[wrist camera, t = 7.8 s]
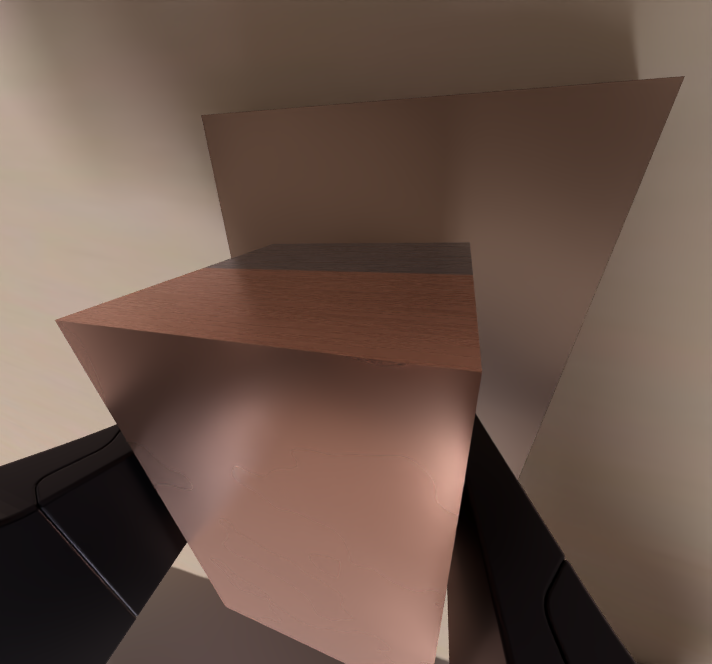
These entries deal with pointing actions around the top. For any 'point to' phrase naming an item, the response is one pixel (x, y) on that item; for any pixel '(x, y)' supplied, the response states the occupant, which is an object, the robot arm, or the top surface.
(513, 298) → the walnut stand
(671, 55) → the top surface
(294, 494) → the block
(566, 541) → the top surface
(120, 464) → the robot arm
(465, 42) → the top surface
